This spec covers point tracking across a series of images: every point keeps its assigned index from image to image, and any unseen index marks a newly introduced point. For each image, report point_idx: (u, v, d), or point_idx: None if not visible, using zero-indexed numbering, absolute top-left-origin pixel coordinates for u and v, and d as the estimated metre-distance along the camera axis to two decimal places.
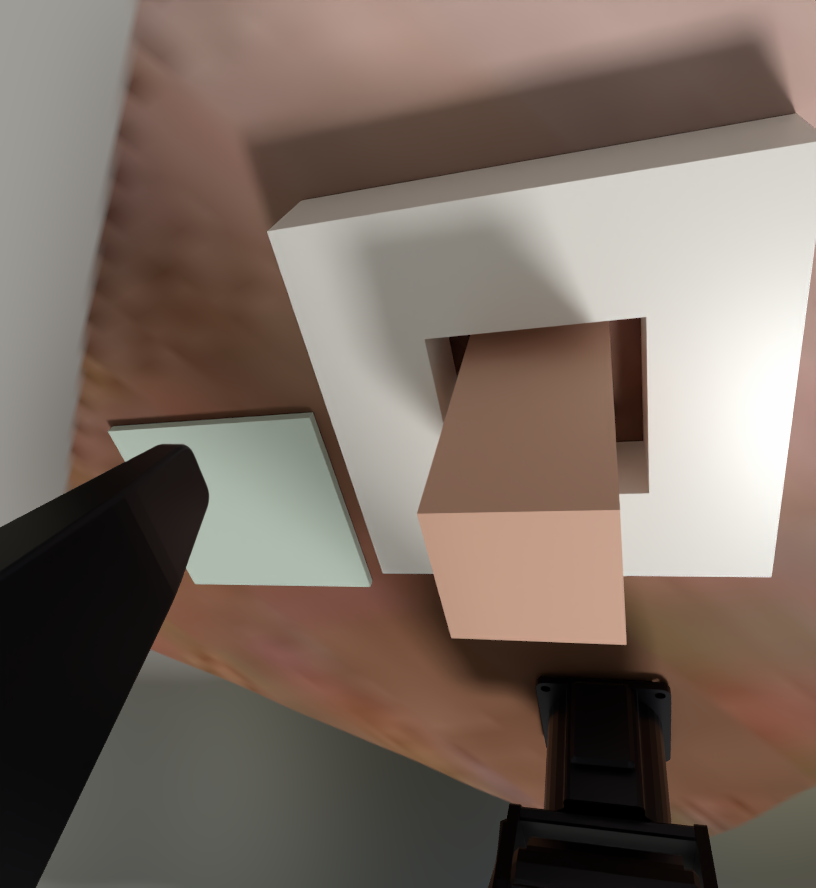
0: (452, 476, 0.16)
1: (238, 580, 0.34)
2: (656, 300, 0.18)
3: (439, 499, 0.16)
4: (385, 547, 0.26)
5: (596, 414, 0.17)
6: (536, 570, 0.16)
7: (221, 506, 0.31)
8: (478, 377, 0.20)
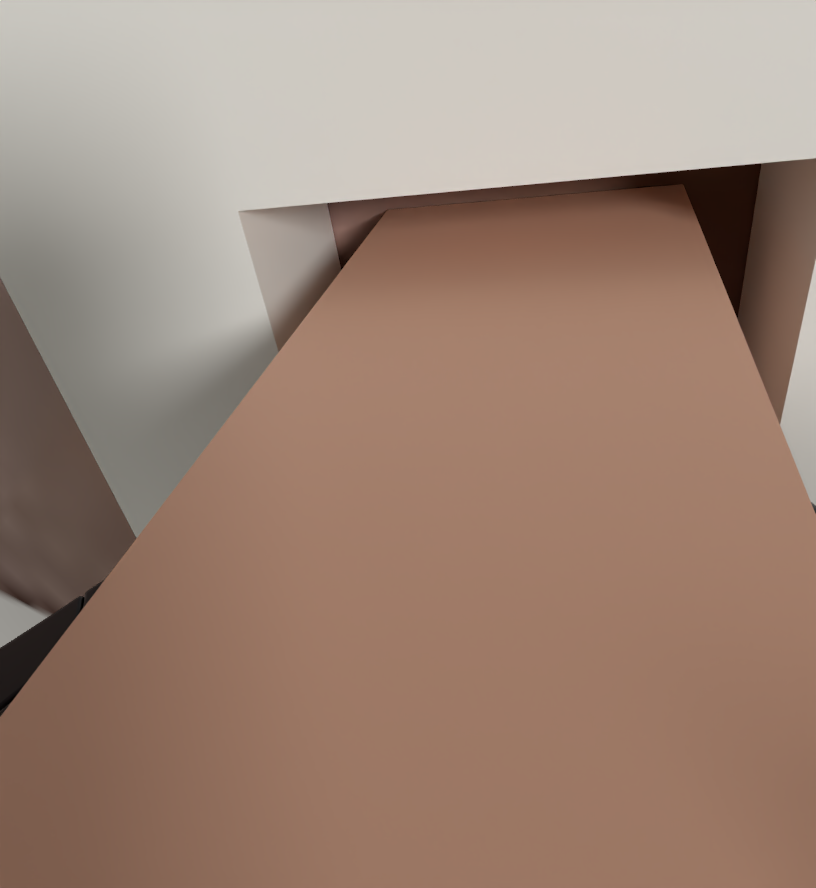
0: None
1: None
2: (197, 191, 0.08)
3: None
4: None
5: None
6: None
7: None
8: None
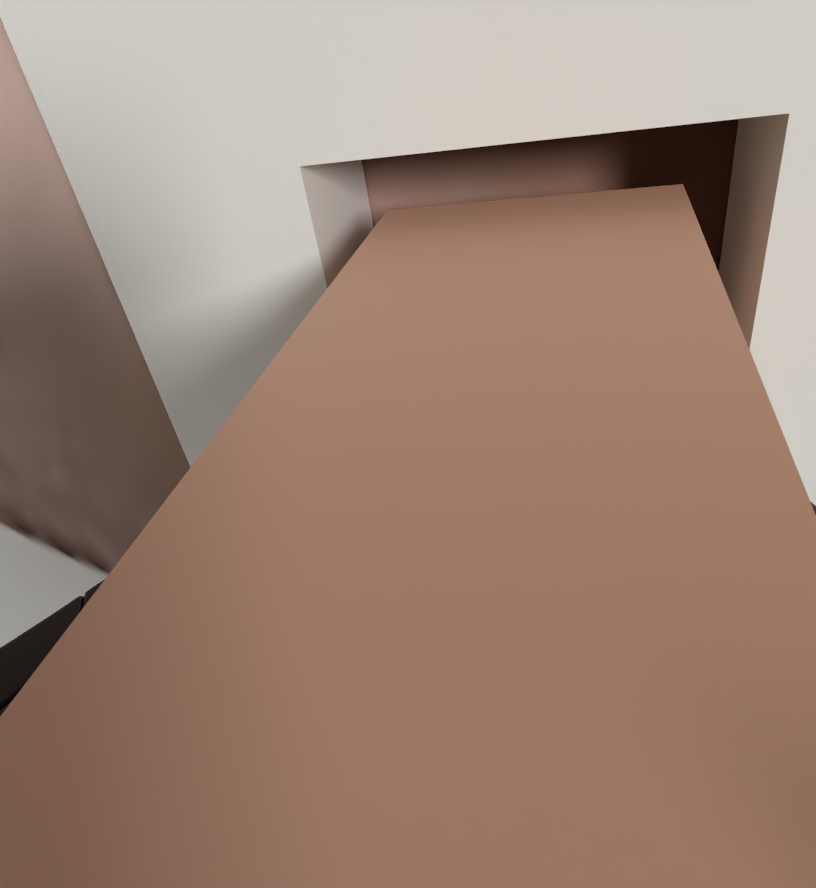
0: None
1: None
2: (266, 150, 0.10)
3: None
4: None
5: None
6: None
7: None
8: None
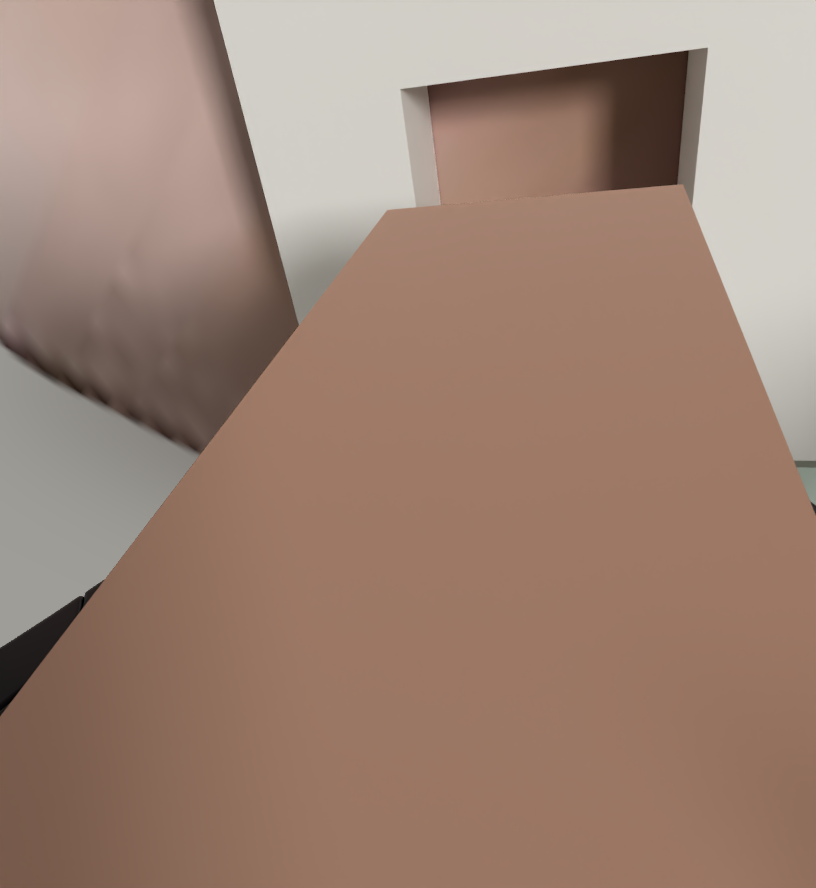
0: None
1: None
2: (378, 78, 0.15)
3: None
4: None
5: None
6: None
7: None
8: None
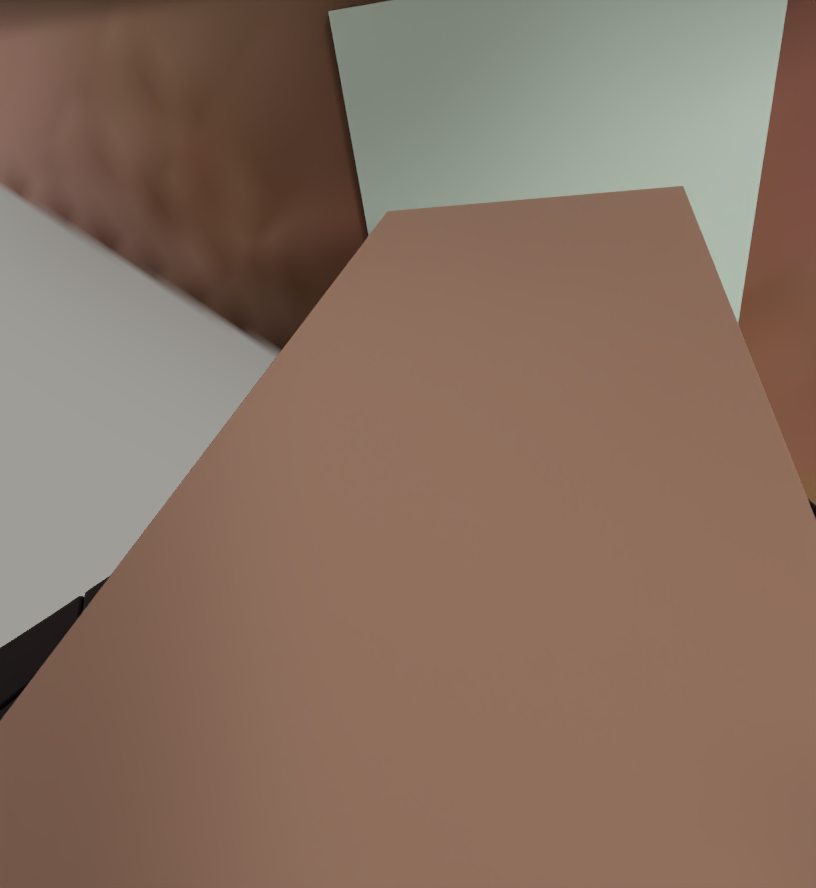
0: None
1: (732, 278, 0.17)
2: None
3: None
4: None
5: None
6: None
7: None
8: None
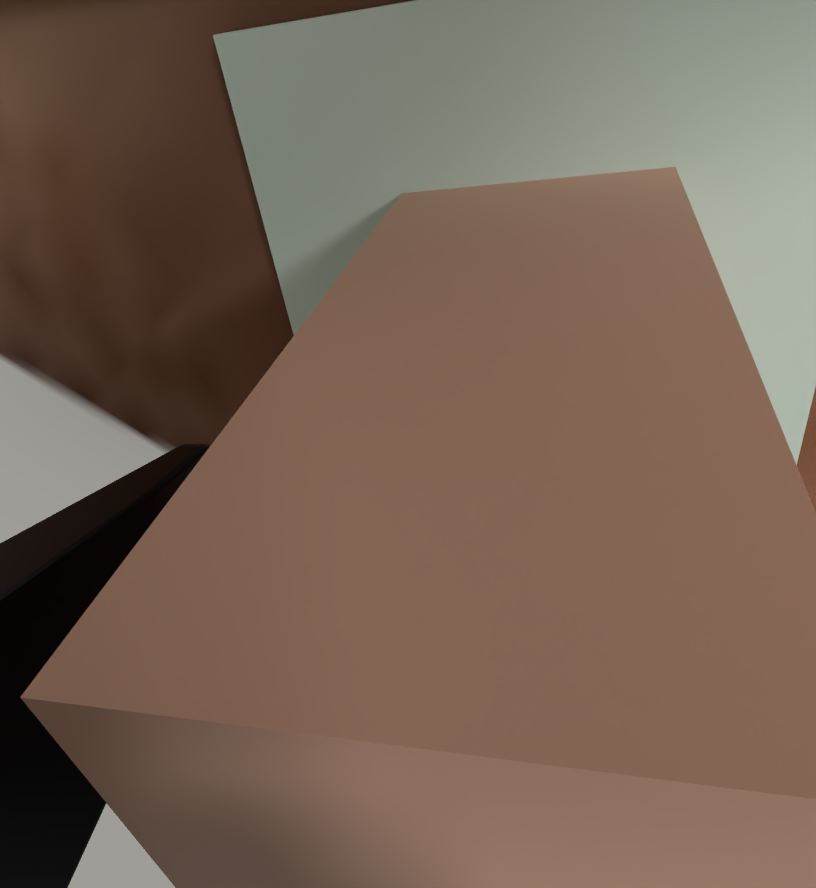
0: None
1: (792, 404, 0.12)
2: None
3: None
4: None
5: None
6: None
7: None
8: None
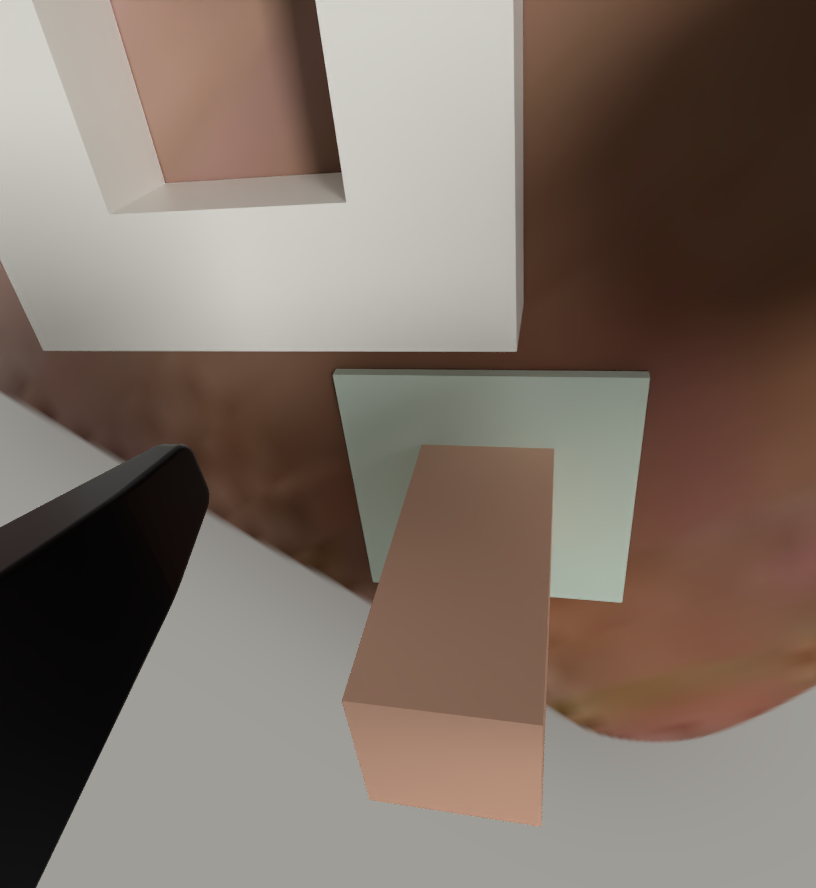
0: None
1: (619, 550, 0.24)
2: None
3: None
4: (458, 334, 0.17)
5: None
6: (429, 757, 0.16)
7: None
8: None
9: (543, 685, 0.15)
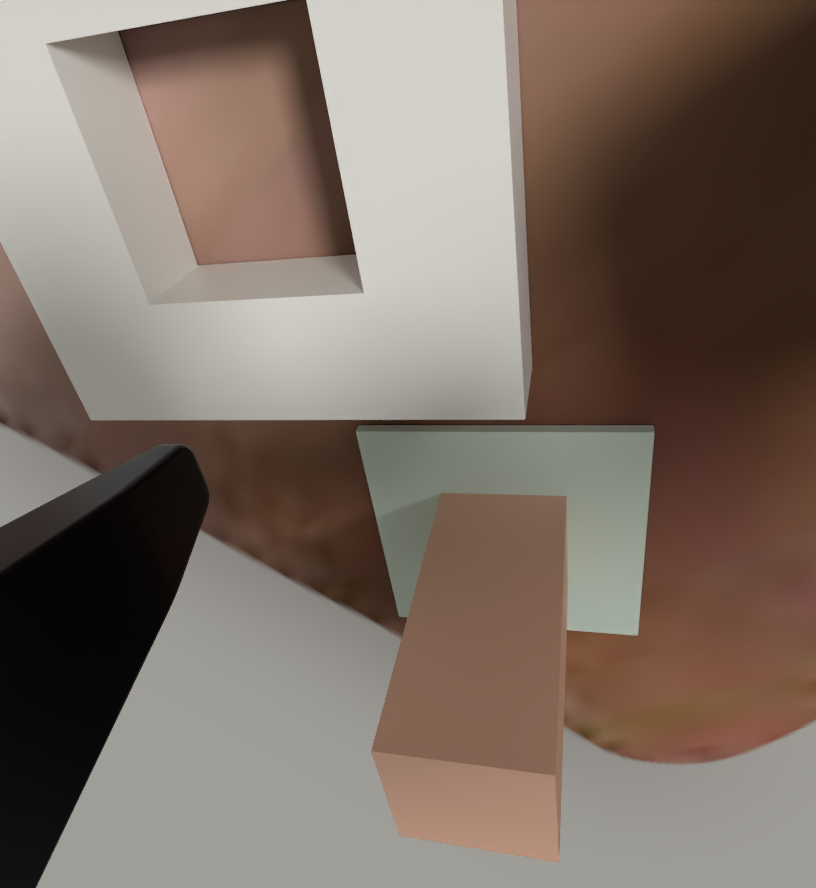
0: None
1: (633, 588, 0.25)
2: (23, 33, 0.15)
3: None
4: (470, 405, 0.19)
5: None
6: (453, 801, 0.17)
7: None
8: None
9: (555, 736, 0.16)
